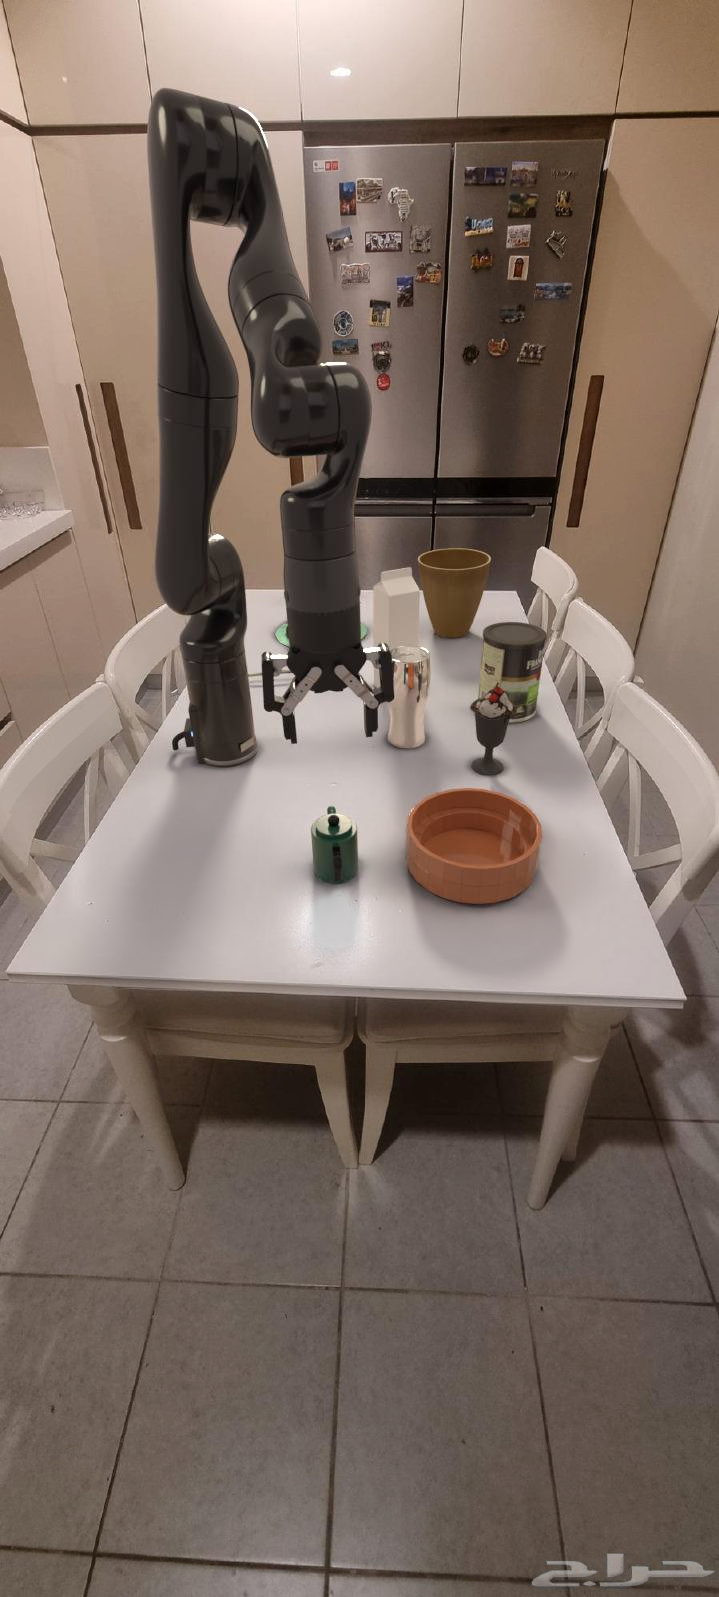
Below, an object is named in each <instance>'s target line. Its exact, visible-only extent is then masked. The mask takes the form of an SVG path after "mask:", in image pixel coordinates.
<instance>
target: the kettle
mask: <svg viewBox="0 0 719 1597" xmlns="http://www.w3.org/2000/svg"><path fill="white" fill-rule="evenodd" d="M310 835H311V837H310V838H311V850H312V863H313V874H314V875H315V877H316V878H317V879H318V880H320V881H322V882H324V883H327V884H334V885H337V884H343V883H347V882H349V881H351V880H353V879H354V878H355V877H356V876H357V874H358V872H359V848H358V847H359V845H358V841H359V840H358V825H357V823H356V821H354V819H353V818H351V817H349V816H347V815H345V814H342V813H337V809H336V807H335V806H334V805H329V806H328V807H327V808H326V814H324V815H322V816H321V817H319V818H317V819H316V820H315V821H314V822H313V823H312V825H311V827H310Z"/></svg>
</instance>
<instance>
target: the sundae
mask: <svg viewBox="0 0 719 1597" xmlns="http://www.w3.org/2000/svg"><path fill="white" fill-rule="evenodd" d="M498 685H499V682H497V684H496V686H495V687H496V688H495V687H494V689H492V690H490V691H488V692H487V693H486V695H485V697H484V698H480V699H478V698H477V699H476V700H474V701H473V702H472V703H470V706H469V709H470V711H472V713H474V720H475V734H476V741H478V743H479V744H480V746H482V747H484V754H483V756H481V757H477V758H475V759H474V760H473V761H472V762H471V764H470V766H471V768H472V770H473V771H474V772H476V773H478V774H480V775H485V776H494V775H498V774H500V773H502V772H503V771H504V769H505V766H504V764H503V763H502V762H501V761H500V760H499V759H497V758H495V757H494V749H495V748H498V747H499V746H500V745H502V744H503V743H504V741H505V738H506V734H507V732H508V728H509V724H510V723H509V720H510V717H511V716H512V715H515V714H516V712H517V709H516V706H515V705H514V704H513V703H512V702H510V701H509V700H508V696H509V694H508V693H507V692H505V691H504V690H503V689H502V688H500V687H498Z"/></svg>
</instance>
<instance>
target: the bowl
mask: <svg viewBox="0 0 719 1597" xmlns="http://www.w3.org/2000/svg"><path fill="white" fill-rule="evenodd" d="M405 840H406V843H405V844H406V845H405V846H406V847H405V860H406V865H407V868H408V871H409V872H410V874H411V875H412V877H413V878H414V880H415V881H416V882H417V883H418V884H419V885H421V886H422V887H423V888H424V889H426V890H427V891H429V892H431V893H433V894H435V895H437V896H438V897H440V898H443V899H446V900H450V901H454V902H456V903H462V904H476V905H482V904H492V903H493V904H495V903H499V902H502V901H505V900H508V899H512V898H514V897H516V896H517V895H519V894H521V893H522V892H524V891H526V889H528V888H529V886H530V885H531V883H533V881H534V880H535V877H536V873H537V871H538V864H539V858H540V852H541V846H542V840H543V828H542V824H541V822H540V820H539V818H538V816H537V815H536V813H535V812H533V811H532V810H531V809H530V808H529V807H528V806H527V805H526V804H524V803H522V802H521V801H519V800H518V799H517V798H514V797H512V796H510V795H508V794H504V793H502V792H498V791H495V790H494V791H493V790H489V789H486V788H472V787H461V788H451V789H446V790H442V791H438V792H435V793H432V794H431V795H428V796H426V797H424V798H423V799H421V800H420V801H419V802H417V803H416V804H415V805H414V806H413V808H412V809H411V810H410V812H409V814H408V816H407V821H406V839H405Z"/></svg>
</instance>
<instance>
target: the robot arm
mask: <svg viewBox="0 0 719 1597" xmlns="http://www.w3.org/2000/svg"><path fill="white" fill-rule="evenodd" d="M262 129H263V128H262V127H261V125H260V123H259V122H258V119H257V118H256V117H255V116H254V115H253V114H252V113H251V112H249V111H248V110H247V109H245V108H242V107H240V106H238V105H235V104H232V103H229V102H224V101H221V100H217V99H213V98H209V97H205V96H202V95H198V94H194V93H191V92H187V91H183V90H179V89H175V88H169V87H162V88H159V89H158V90H156V92H155V93H154V94H153V96H152V99H151V103H150V106H149V110H148V117H147V129H146V131H147V134H146V155H147V172H148V189H149V201H150V216H151V227H152V241H153V242H152V243H153V256H154V267H155V270H154V271H155V283H156V328H157V329H156V334H157V336H156V337H157V338H156V341H157V342H156V346H157V347H156V348H157V350H156V352H157V353H156V360H157V361H156V370H157V371H156V382H157V383H156V393H157V394H156V395H157V397H156V398H157V421H158V423H157V424H158V444H159V445H158V446H159V448H158V449H159V450H158V452H159V453H158V458H159V459H158V482H159V483H158V484H159V485H158V486H159V488H158V489H159V492H158V493H159V494H158V512H157V513H158V515H157V524H156V525H157V526H156V527H157V528H156V539H155V540H156V541H155V551H154V578H155V583H156V586H157V589H158V592H159V595H160V596H161V599H162V600H163V601H164V603H165V605H166V606H167V607H168V608H169V609H170V610H172V611H173V612H174V613H175V614H178V615H181V616H186V617H187V616H190V617H189V619H188V621H187V622H186V625H185V626H184V628H183V629H182V631H181V632H180V635H179V638H178V642H179V650H180V654H181V660H182V666H183V672H184V678H185V682H186V689H187V695H188V700H189V704H188V708H187V709H188V716H189V717H186V719H185V724H184V727H183V731H181V732H179V733H177V734H176V735H175V736H174V737H173V739H172V741H171V742H172V743H171V745H172V747H171V748H172V750H173V751H178V750H179V749H180V748H179V742H180V741H181V740H182V739H184V742H185V747H186V748H194V750H195V756H196V760H197V763H198V764H207V765H209V766H214V767H230V766H235V765H236V766H237V765H240V764H243V763H245V762H247V761H249V760H250V759H252V758H253V757H254V756H255V755H256V754H257V752H258V743H257V742H258V741H257V736H256V731H255V722H254V714H253V705H252V704H253V703H252V697H251V688H250V687H251V686H250V681H249V677H248V674H249V673H248V672H249V670H248V664H247V663H248V662H247V654H246V648H245V636H246V632H247V629H248V609H247V594H246V580H245V573H244V567H243V564H242V561H241V558H240V555H239V553H238V551H237V549H236V547H235V546H234V545H233V544H232V542H231V541H230V540H229V539H228V538H226V537H225V536H224V535H222V534H220V533H217V532H210V524H211V516H212V510H213V506H214V504H215V500H216V497H217V494H218V491H219V490H220V486H221V485H222V481H223V479H224V477H225V474H226V472H227V469H228V466H229V463H230V460H231V459H232V456H233V455H232V454H233V451H234V449H235V446H236V445H235V444H236V440H237V434H238V433H237V432H238V419H239V418H238V417H239V397H240V396H239V395H240V394H239V393H240V380H239V379H240V377H239V373H238V368H237V365H236V362H235V359H234V357H233V354H232V353H231V352H232V351H231V350H230V348H229V346H228V343H227V341H226V339H225V336H224V334H223V333H222V331H221V329H220V326H219V324H218V323H217V321H216V318H215V317H214V315H213V313H212V310H211V308H210V306H209V303H208V302H207V299H206V296H205V293H204V291H203V289H202V284H201V282H200V279H199V276H198V273H197V269H196V263H195V258H194V252H193V246H192V235H191V221H192V222H197V223H203V224H207V225H213V226H218V227H220V226H221V227H224V228H238V229H239V230H240V231H241V232H242V233H243V235H244V236H243V238H242V239H241V242H240V243H239V246H238V247H237V248H236V249H237V250H236V251H235V253H234V256H233V258H232V260H231V264H230V267H229V271H228V276H227V299H228V305H229V309H230V313H231V316H232V320H233V322H234V325H235V328H236V330H237V332H238V335H239V337H240V340H241V343H242V345H243V349H244V351H245V354H246V358H247V363H248V368H249V378H250V417H251V420H250V421H251V426H252V431H253V434H254V436H255V438H256V440H257V442H258V443H259V445H260V446H261V447H262V448H263V449H264V450H265V451H266V452H267V453H268V454H270V455H272V456H274V457H276V458H279V459H295V458H296V459H297V458H303V457H304V458H305V457H314V456H324V455H325V456H324V459H323V462H322V465H321V466H320V469H319V470H318V472H317V473H316V474H315V475H314V476H313V477H311V478H309V479H307V480H304V481H301V482H299V483H296V484H293V485H292V486H290V487H288V488H286V489H285V490H283V492H282V493H281V495H280V498H279V515H280V526H281V540H282V549H283V572H282V573H283V577H282V578H283V589H284V591H283V597H284V600H285V608H286V609H285V610H286V611H285V612H286V621H287V622H286V623H288V634H289V644H290V647H289V649H288V652H287V653H286V654H273V653H272V652H270V651H264V652H262V653H261V672H262V676H261V681H262V698H263V700H262V701H263V702H262V703H263V709H264V711H265V712H267V713H272V712H277V713H278V714H280V716H281V718H282V728H283V737H284V738H285V740H286V741H287V740H289V741H290V745H295V744H296V745H298V736H297V726H296V725H297V724H296V715H295V709H296V708H297V706H298V705H299V703H301V702H302V701H303V700H304V699H305V697H306V696H307V694H308V693H309V691H310V692H314V694H323V693H325V692H335V693H337V692H340V693H341V692H344V690H346V689H347V688H349V689H350V690H351V691H352V692H353V694H354V695H355V696H356V697H357V698H359V699H360V700H361V701H363V728H364V734H365V737H366V738H373V736H374V735H373V733H377V732H378V729H379V707H380V706H381V704H383V703H385V702H386V703H388V702H391V701H393V700H394V682H393V668H392V655H391V652H390V650H389V647H388V645H387V644H386V643H380V644H379V645H378V647H376V648H374V647H369V648H364V646H363V645H362V639H361V623H362V622H361V592H362V591H361V588H362V587H361V584H360V572H359V564H358V559H357V551H356V548H357V545H356V517H355V516H356V514H355V509H356V508H355V507H356V498H357V492H358V487H359V481H360V475H361V471H362V466H363V460H364V456H365V452H366V448H367V444H368V440H369V435H370V432H371V425H372V424H371V423H372V413H373V410H372V409H373V405H372V403H373V402H372V397H371V393H370V388H369V385H368V383H367V381H366V379H365V376H364V375H363V374H362V372H361V371H360V370H359V368H357V367H356V366H355V365H353V364H352V363H349V362H345V361H342V362H339V361H336V362H322V363H321V362H319V361H320V359H321V356H322V354H323V353H322V352H323V343H324V342H323V341H324V340H323V335H322V331H321V330H322V329H321V327H320V324H319V321H318V318H317V316H316V313H315V311H314V309H313V307H312V305H311V302H310V299H309V297H308V294H307V291H306V290H305V287H304V285H303V282H302V281H301V279H300V276H299V273H298V270H297V268H296V265H295V262H294V258H293V255H292V250H291V246H290V242H289V237H288V233H287V226H286V223H285V217H284V212H283V206H282V201H281V197H280V193H279V189H278V184H277V179H276V175H275V171H274V170H275V169H274V166H273V161H272V156H271V153H270V150H269V146H268V143H267V140H266V136H265V134H264V132H263V130H262ZM367 661H369V662H371V664H372V666H373V669H374V668H377V669H379V676H380V687H379V688H375V689H374V688H372V687H371V686H370V685H369V683H368V682H367V681H366V680H365V678H364V677H363V675H362V674H361V673H360V671H361V670H362V668H363V667H364V666H365V665H366V662H367ZM286 667H287V670H290V671H291V672H292V673H291V674H293V675H294V677H293V678H292V679H291V681H290V684H289V686H288V688H287V689H286V690H285V692H284V694H283V695H282V696H279V695H275V677H276V678H277V677H279V676H280V675H282V674H281V670H283V668H286Z"/></svg>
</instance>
